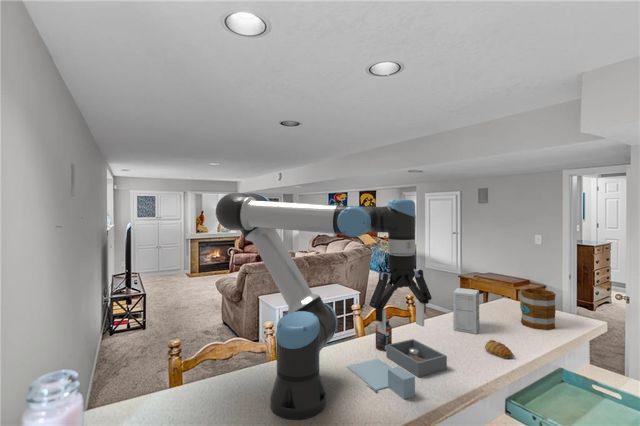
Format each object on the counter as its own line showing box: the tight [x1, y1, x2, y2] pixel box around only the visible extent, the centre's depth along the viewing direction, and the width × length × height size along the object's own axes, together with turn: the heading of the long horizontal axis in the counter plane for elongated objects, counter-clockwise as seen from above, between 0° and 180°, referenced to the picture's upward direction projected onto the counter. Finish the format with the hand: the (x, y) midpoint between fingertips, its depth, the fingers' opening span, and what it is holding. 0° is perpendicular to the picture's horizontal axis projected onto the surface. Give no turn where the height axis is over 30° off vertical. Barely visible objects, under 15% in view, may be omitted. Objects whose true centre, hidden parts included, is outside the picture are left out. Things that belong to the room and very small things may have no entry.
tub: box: [385, 338, 448, 379], centre depth 116 cm, size 12×16×5 cm
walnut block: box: [412, 356, 424, 362], centre depth 112 cm, size 4×4×3 cm
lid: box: [346, 358, 416, 400], centre depth 105 cm, size 13×24×6 cm, turn 26°
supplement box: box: [452, 287, 480, 335], centre depth 149 cm, size 10×9×17 cm
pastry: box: [484, 339, 514, 360], centre depth 124 cm, size 9×7×4 cm
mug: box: [519, 287, 557, 331], centre depth 157 cm, size 20×14×15 cm
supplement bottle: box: [375, 318, 393, 352], centre depth 128 cm, size 6×6×11 cm
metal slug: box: [409, 347, 419, 358], centre depth 120 cm, size 4×4×3 cm
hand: (401, 328), depth 97 cm, fingers open, 13 cm apart
